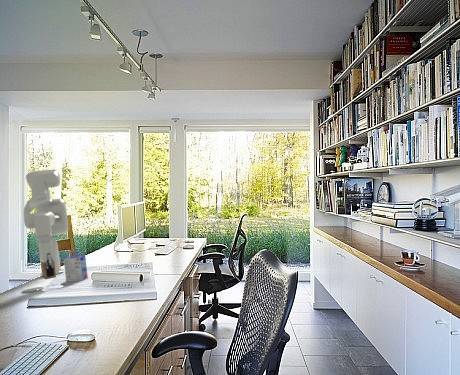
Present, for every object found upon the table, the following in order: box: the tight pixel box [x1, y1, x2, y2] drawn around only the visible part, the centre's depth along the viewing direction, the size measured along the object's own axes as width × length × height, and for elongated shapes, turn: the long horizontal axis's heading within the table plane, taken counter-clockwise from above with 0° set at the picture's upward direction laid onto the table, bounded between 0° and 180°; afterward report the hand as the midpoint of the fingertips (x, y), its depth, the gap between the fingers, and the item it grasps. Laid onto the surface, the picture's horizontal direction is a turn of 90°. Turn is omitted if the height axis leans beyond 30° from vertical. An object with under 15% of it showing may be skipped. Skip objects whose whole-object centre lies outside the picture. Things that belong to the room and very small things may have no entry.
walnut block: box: [40, 261, 57, 280], centre depth 226 cm, size 5×5×8 cm
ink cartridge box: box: [63, 251, 89, 283], centre depth 237 cm, size 10×6×14 cm, turn 78°
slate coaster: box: [20, 286, 44, 295], centre depth 223 cm, size 10×10×1 cm
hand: (49, 274), depth 226 cm, fingers closed on walnut block, 5 cm apart
